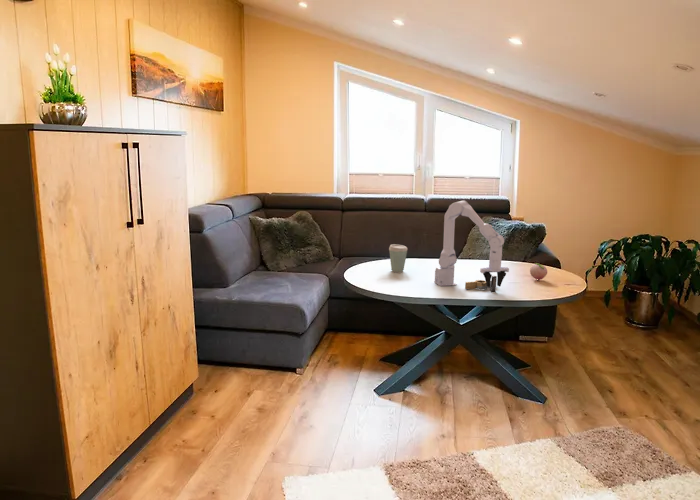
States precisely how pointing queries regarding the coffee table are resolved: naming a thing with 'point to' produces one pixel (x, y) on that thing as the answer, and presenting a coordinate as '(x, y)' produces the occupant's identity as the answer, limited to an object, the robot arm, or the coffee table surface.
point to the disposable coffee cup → (397, 257)
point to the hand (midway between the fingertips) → (493, 286)
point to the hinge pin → (493, 283)
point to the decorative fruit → (538, 271)
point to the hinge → (477, 285)
